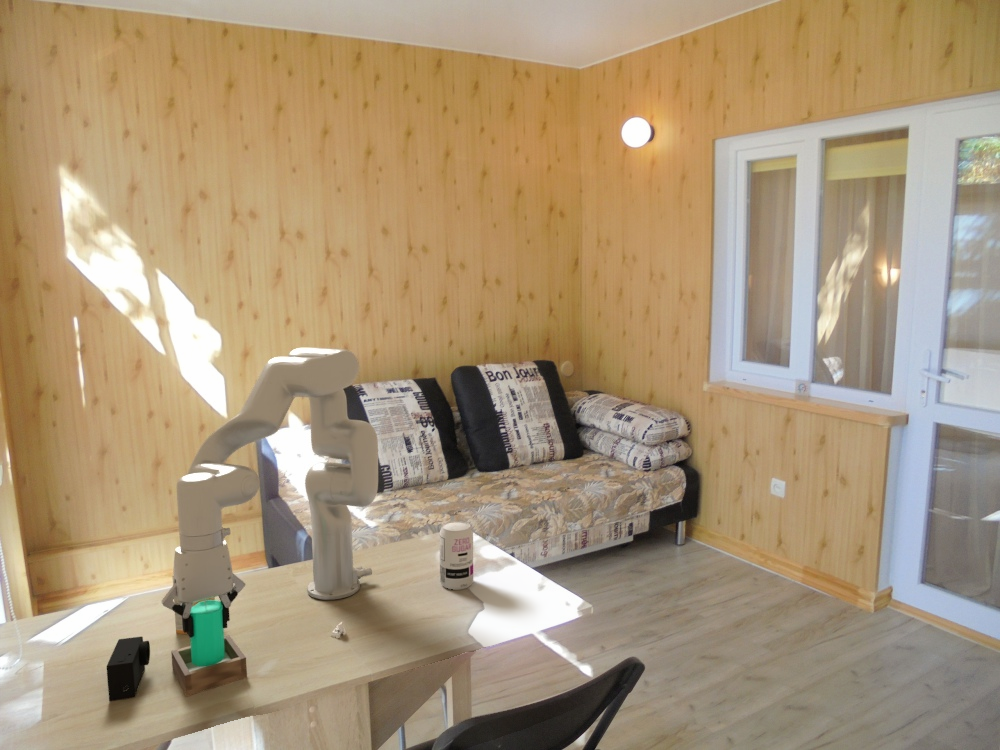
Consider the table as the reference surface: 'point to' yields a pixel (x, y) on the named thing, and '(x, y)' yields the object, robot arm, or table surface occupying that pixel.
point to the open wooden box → (208, 669)
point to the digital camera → (127, 667)
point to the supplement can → (456, 555)
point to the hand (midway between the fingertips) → (206, 629)
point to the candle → (207, 633)
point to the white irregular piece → (338, 630)
